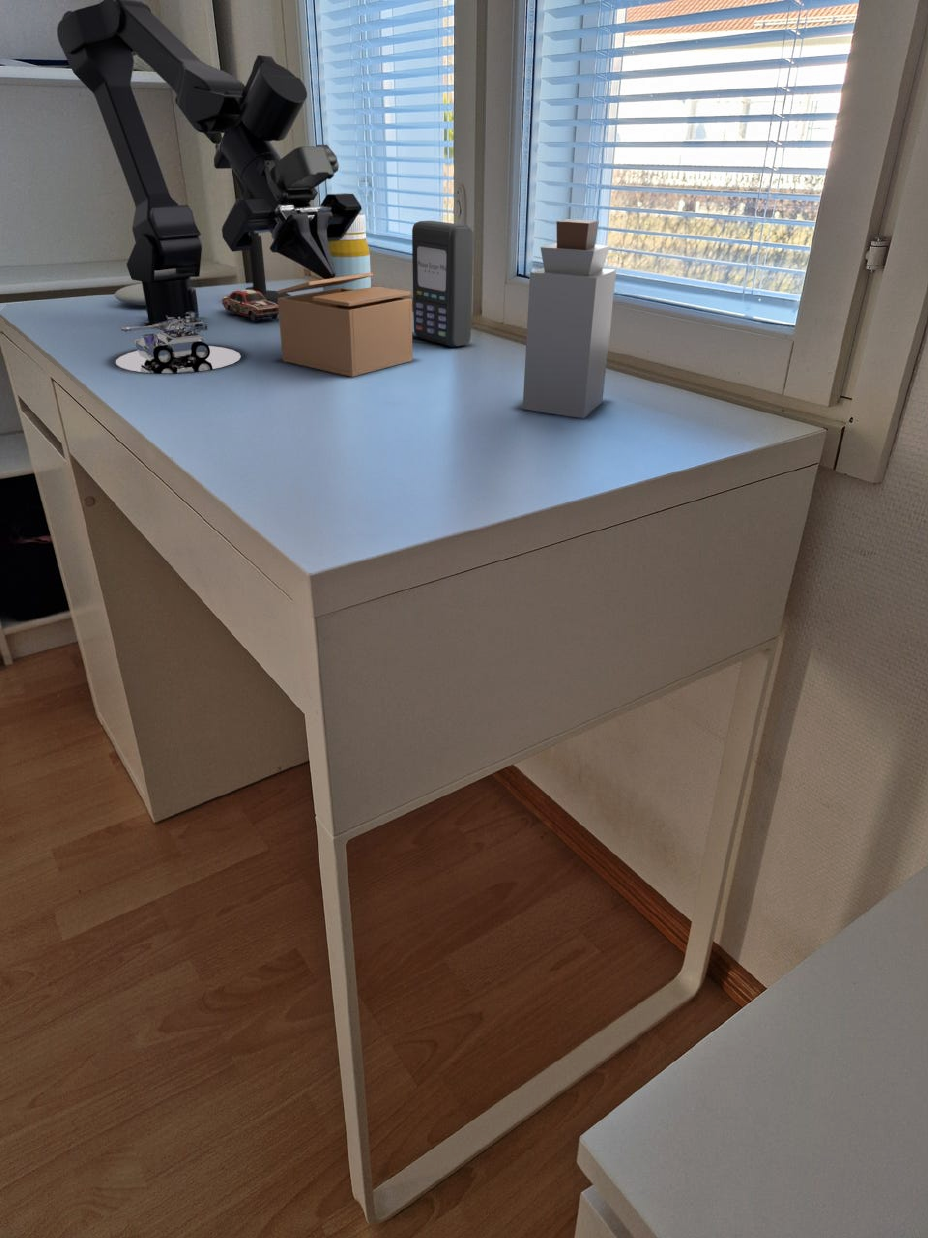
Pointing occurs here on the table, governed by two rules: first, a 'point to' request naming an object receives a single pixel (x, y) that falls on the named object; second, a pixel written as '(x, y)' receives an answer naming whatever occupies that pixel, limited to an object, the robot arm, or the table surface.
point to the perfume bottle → (569, 323)
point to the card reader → (442, 282)
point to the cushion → (131, 295)
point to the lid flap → (324, 283)
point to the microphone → (252, 247)
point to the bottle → (352, 255)
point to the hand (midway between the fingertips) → (332, 277)
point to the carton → (347, 329)
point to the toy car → (175, 349)
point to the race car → (250, 305)
